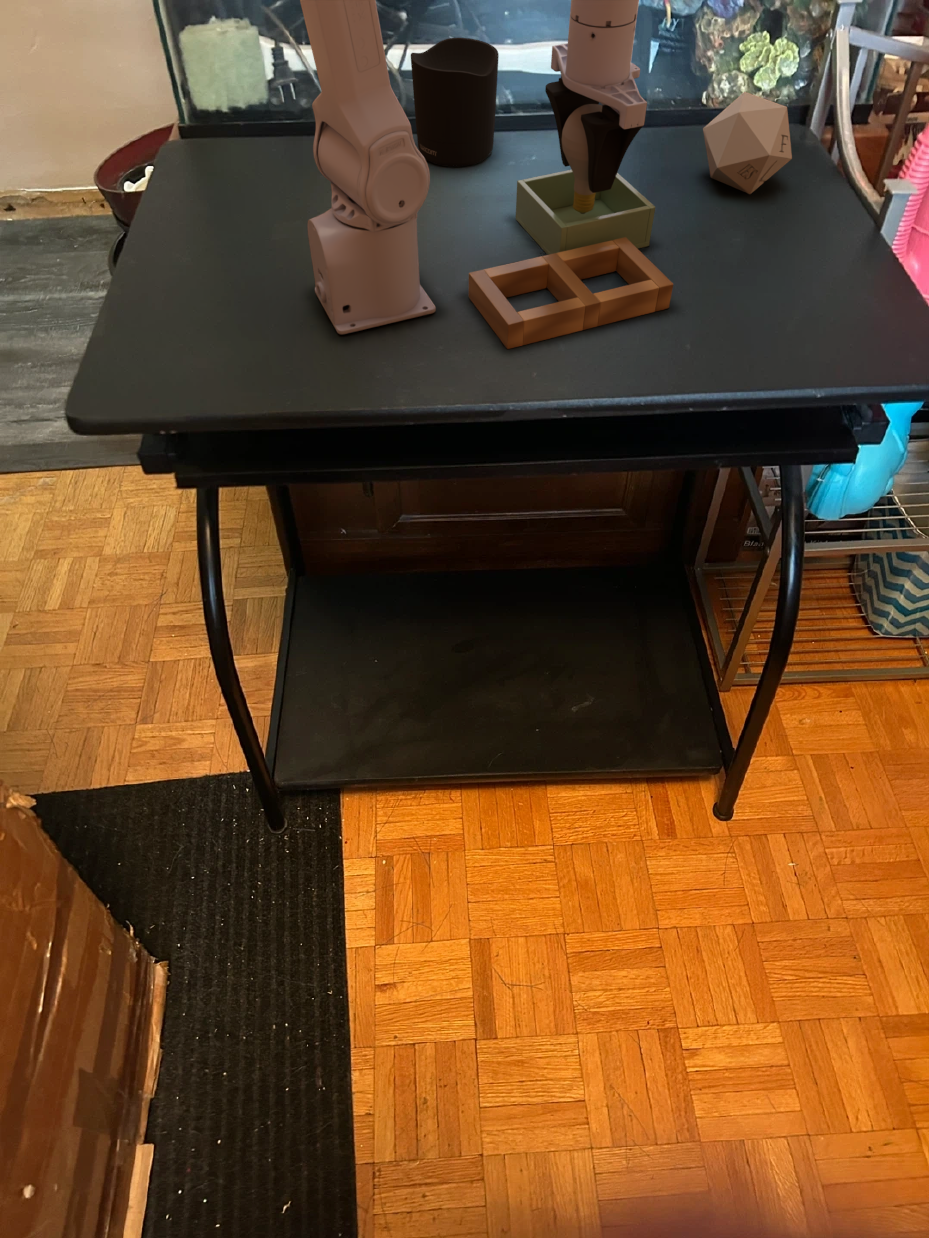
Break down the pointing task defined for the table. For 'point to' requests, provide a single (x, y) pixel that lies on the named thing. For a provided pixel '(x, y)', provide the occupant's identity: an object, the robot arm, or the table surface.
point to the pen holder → (455, 101)
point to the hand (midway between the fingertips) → (586, 176)
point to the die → (748, 142)
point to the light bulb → (579, 156)
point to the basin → (563, 228)
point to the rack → (568, 291)
